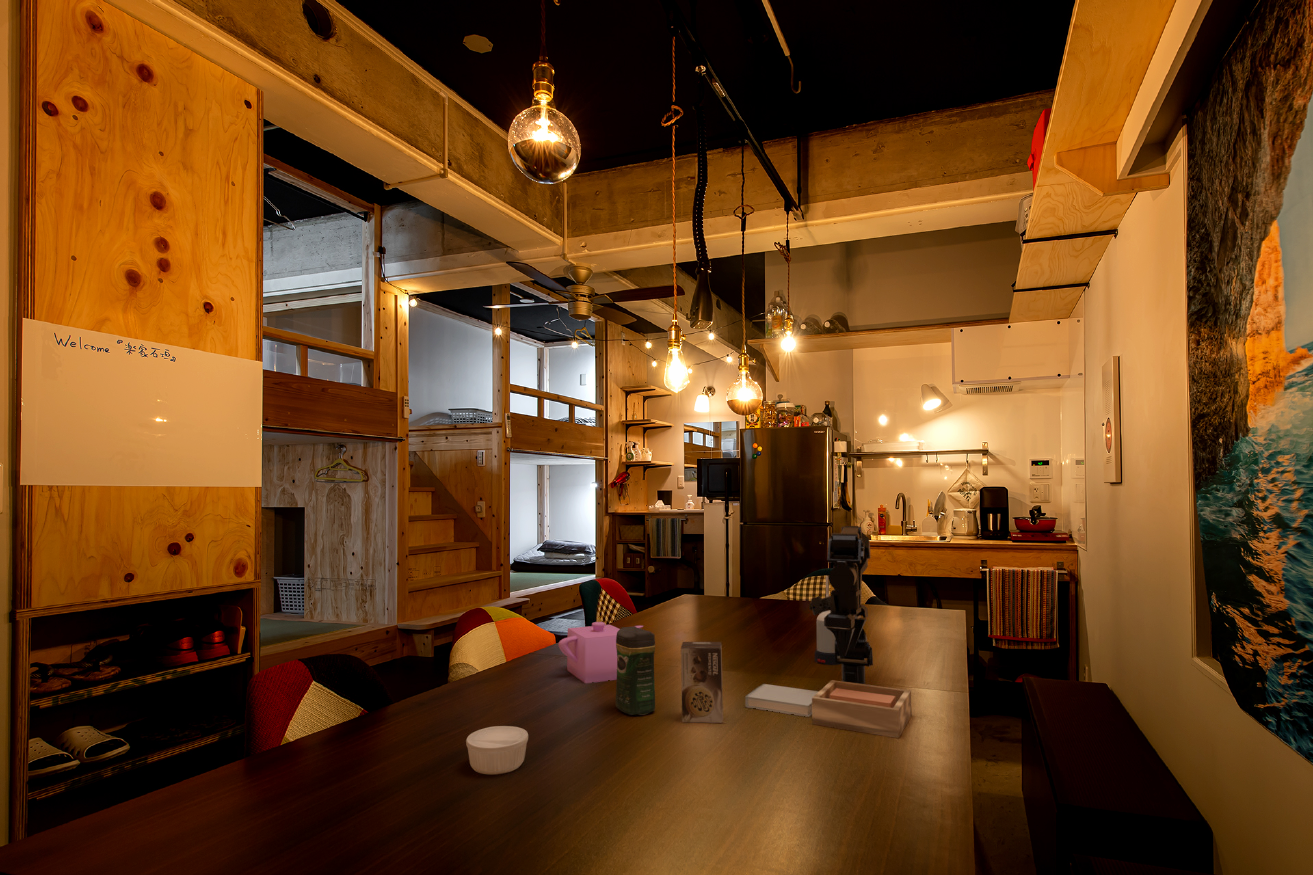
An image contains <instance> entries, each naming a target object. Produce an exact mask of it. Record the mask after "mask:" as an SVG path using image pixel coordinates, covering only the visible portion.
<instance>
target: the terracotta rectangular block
mask: <svg viewBox="0 0 1313 875" xmlns="http://www.w3.org/2000/svg"><path fill="white" fill-rule="evenodd" d="M829 699H834V700H841V701H848V702H855V703H862V704H869V705H876V706H883V707H890V708H893V707H894V706H895V704H896V699H895V696H891V695H883V694H876V693H868V692H861V691H853V690H846V689H839V688H836V689H835V690H834V691H833V692H832V693H831V694H830V695H829Z"/></svg>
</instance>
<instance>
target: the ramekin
mask: <svg viewBox="0 0 1313 875" xmlns="http://www.w3.org/2000/svg"><path fill="white" fill-rule="evenodd" d="M528 741H529V734H528V731H527V730H525V729H524V728H521V727H518V726H512V725H509V726H508V725H500V726H499V725H497V726H489V727H485V728H482V729H478V730H476V731H474V732H471V733H470V734H469V735H468V736H467V738H466V740H465V744H466V747H467V752H468V760H469V764H470V767H471V768H472V770H474V771H475V772H476V773H479V774H483V775H501V774H506V773H510V772H513V771H516V770H517V769H519V768H520V766H522V764H523V762H524V761H525V757H526V749H527V743H528Z"/></svg>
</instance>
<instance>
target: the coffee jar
mask: <svg viewBox="0 0 1313 875" xmlns="http://www.w3.org/2000/svg"><path fill="white" fill-rule="evenodd" d="M635 626H636V625H634V626H625V627H624V626H623V627H620V628H619V629H620V630H619V631H618V632H617V636H616V649H617V680H616V683H615V684H616V685H615V686H616V687H615V707H616V708H617V710H620V712H623V713H625V714H626V715H627V714H628V715H631V716H632V715H639V716H644V715H648V714H649V713H652V712H654V711H655V709H656V689H655V687H656V686H655V651H656V639H655V633H653V632H651V630H650V631H649V630H645V629H643V628H637V627H635Z"/></svg>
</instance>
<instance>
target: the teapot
mask: <svg viewBox="0 0 1313 875" xmlns="http://www.w3.org/2000/svg"><path fill="white" fill-rule="evenodd" d="M634 626H635V627H637V628H640V629H643V627H644V625H634ZM620 629H621V628H618V627H616V626H614V625H611V624H606V623H605V622H603V621H595V622H592V623H591V626H582V627H581V626H578V627H568V628H567V637H564V638H562V639H561V640H559V642H558V648H559V650H560V651H561V653H563V655H565V656H566V661H567V662H566V665H567V666H566V668H567V669H566V670H567V671H568V673H570V674H572V675H573V676H574V677H576V678H577V679H578V680H579V681H581V682H582V683H583V684H591V683H592V682H594V683H599V682H600V683H602V682H608V680H610V681H617V649H616V636H617V632H618V631H619V630H620Z"/></svg>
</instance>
